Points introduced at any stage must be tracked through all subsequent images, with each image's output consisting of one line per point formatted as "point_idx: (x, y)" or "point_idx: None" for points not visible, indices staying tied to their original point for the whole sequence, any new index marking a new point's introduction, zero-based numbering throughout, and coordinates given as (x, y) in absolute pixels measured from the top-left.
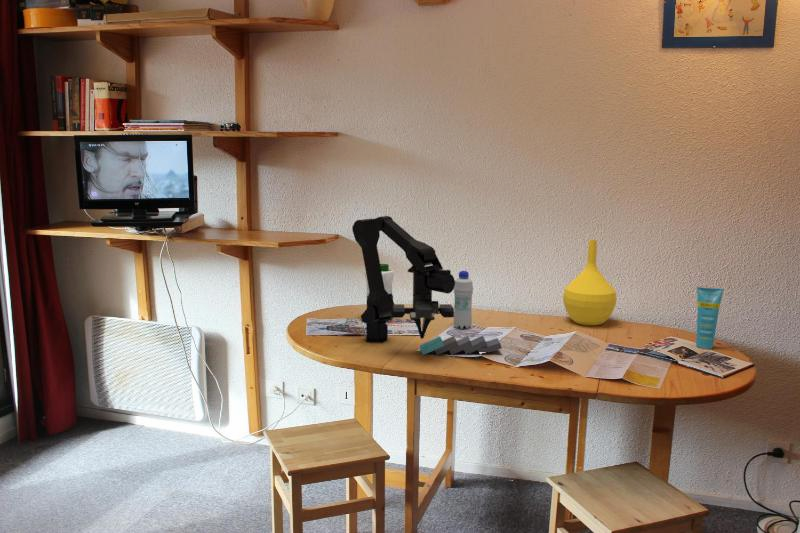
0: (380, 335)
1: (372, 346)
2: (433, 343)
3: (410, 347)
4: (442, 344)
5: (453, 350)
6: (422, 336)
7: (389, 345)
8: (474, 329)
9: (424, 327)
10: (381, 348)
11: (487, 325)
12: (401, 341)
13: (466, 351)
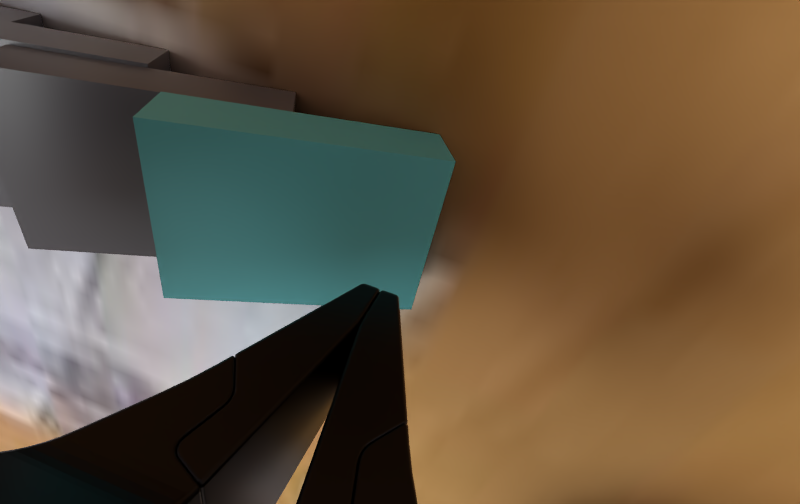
0: None
1: (779, 498)
2: (268, 166)
3: (471, 358)
4: (165, 100)
5: (109, 49)
6: (366, 299)
7: (616, 455)
8: (78, 426)
9: (257, 394)
10: (738, 437)
11: (37, 437)
12: (483, 470)
13: (4, 15)
